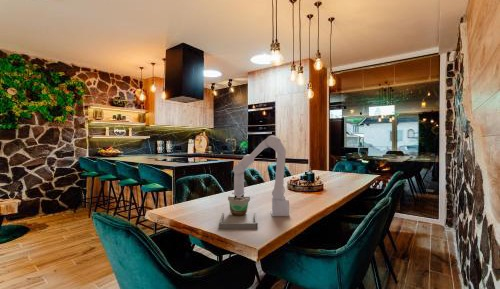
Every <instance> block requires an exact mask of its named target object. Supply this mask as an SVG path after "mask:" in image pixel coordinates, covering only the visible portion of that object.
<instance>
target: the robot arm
mask: <svg viewBox="0 0 500 289" xmlns="http://www.w3.org/2000/svg"><path fill="white" fill-rule="evenodd" d="M268 148H271V149H273V150H274V152H276V167H275V178H274V179H275V180H274V185H273V190H272V192H271V196H272V198H271V210H270V214H271V216H272V217H290V199H289V198H286V197H285V192H286V191H285V190H286V189H285V187H284V186H285V185H284V182H285V180H284V178H285V168H286V166H285V165H286V154H287V149H286V147H285V146H284V144H283V142H282V140H281V139H280V138H279V137H278V136H276V135H268V136H267V137H266V138H265V139H264V140H262V141H261V142H260V143H259V144H258V145H257V146H256V147H255V148H254V150H253V151H252V152H251V153H250V154H244V155H243V157H242V159H241V160H240V161H237V164H234V166H233V168H232V171H233V174H234V176H233V192H232V193H231V195H234V196H233V197H237V198H241V196H242V197H245V171H246V170H247V169H248V168H249V167H250V166H251V165H253V163H254V162H255V158H256V157H257V156H258V155H259V154H261V152H263V150H265V149H268Z"/></svg>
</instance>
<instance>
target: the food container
mask: <svg viewBox="0 0 500 289" xmlns="http://www.w3.org/2000/svg"><path fill="white" fill-rule="evenodd" d="M227 201H228V203H229V213H230V214H231V215H233V216H235V217H242V216H245V215H246V214H247V212H248V207H249V203H250V201H251V196H250V195H248V196H244V197H242V196H241V198H237V197H235V196H230V195H228V197H227Z"/></svg>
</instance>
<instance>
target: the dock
mask: <svg viewBox="0 0 500 289" xmlns="http://www.w3.org/2000/svg"><path fill="white" fill-rule="evenodd" d="M224 220H225V213H224V212H222V213H221V215H220V218H219V224H218V227H219V230H253V229H254V230H255V229H256V230H257V229H259V228H258V227H259V225H258V224H259V223H258V218H257V213H256V212H253V221H254V222H224Z"/></svg>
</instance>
